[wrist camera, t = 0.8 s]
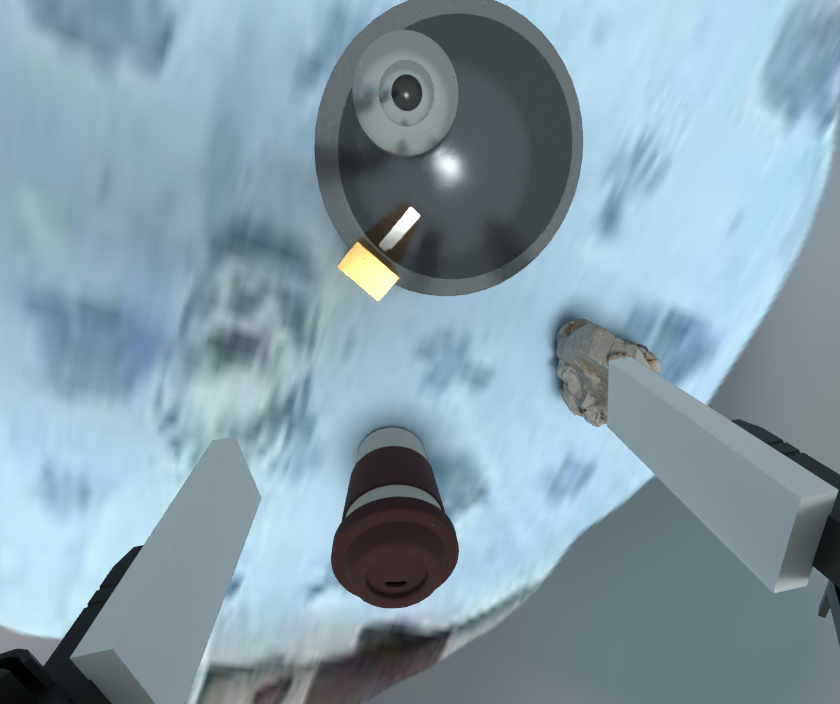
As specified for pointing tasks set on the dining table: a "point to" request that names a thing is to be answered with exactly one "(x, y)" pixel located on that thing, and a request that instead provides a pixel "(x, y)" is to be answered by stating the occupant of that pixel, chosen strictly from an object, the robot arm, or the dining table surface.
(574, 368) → the rock
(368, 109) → the cover
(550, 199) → the turntable
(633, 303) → the dining table surface
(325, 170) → the turntable base
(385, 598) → the coffee cup
